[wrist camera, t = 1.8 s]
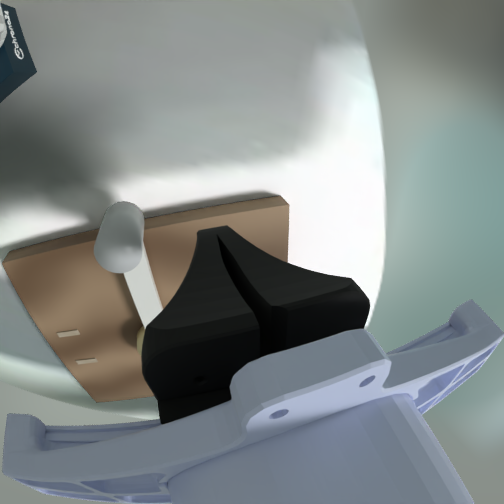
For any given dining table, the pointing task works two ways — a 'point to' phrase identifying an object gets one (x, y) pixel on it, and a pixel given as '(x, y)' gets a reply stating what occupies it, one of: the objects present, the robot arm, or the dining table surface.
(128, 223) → the lever
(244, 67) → the dining table surface
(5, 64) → the watch
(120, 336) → the brown wooden board
